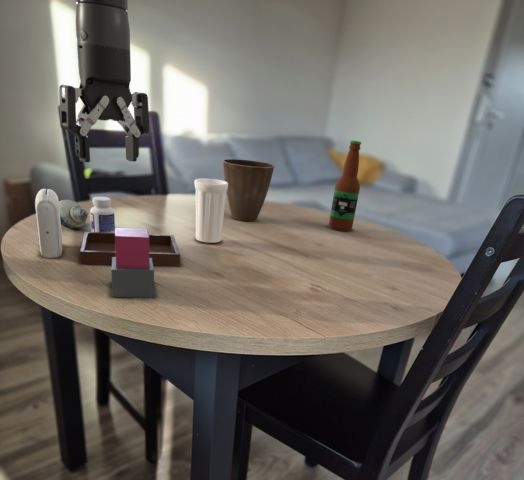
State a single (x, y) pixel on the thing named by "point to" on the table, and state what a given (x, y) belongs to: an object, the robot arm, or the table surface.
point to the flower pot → (246, 187)
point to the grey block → (132, 281)
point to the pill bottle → (102, 215)
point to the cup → (210, 209)
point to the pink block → (132, 248)
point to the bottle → (346, 192)
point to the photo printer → (48, 223)
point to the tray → (103, 249)
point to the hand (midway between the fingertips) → (108, 161)
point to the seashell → (72, 214)
